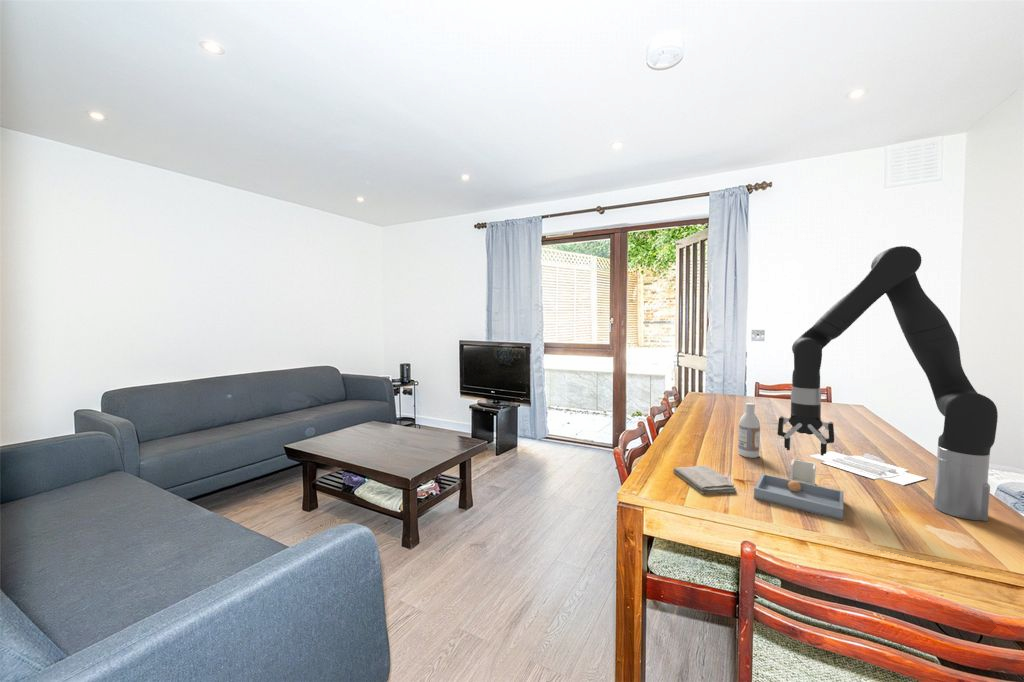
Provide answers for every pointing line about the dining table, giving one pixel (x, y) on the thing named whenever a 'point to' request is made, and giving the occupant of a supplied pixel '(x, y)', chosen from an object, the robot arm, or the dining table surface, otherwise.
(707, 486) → the washcloth
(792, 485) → the ball
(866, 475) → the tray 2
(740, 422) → the bath foam
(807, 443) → the dining table surface
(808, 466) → the white cube stool
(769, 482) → the tray
